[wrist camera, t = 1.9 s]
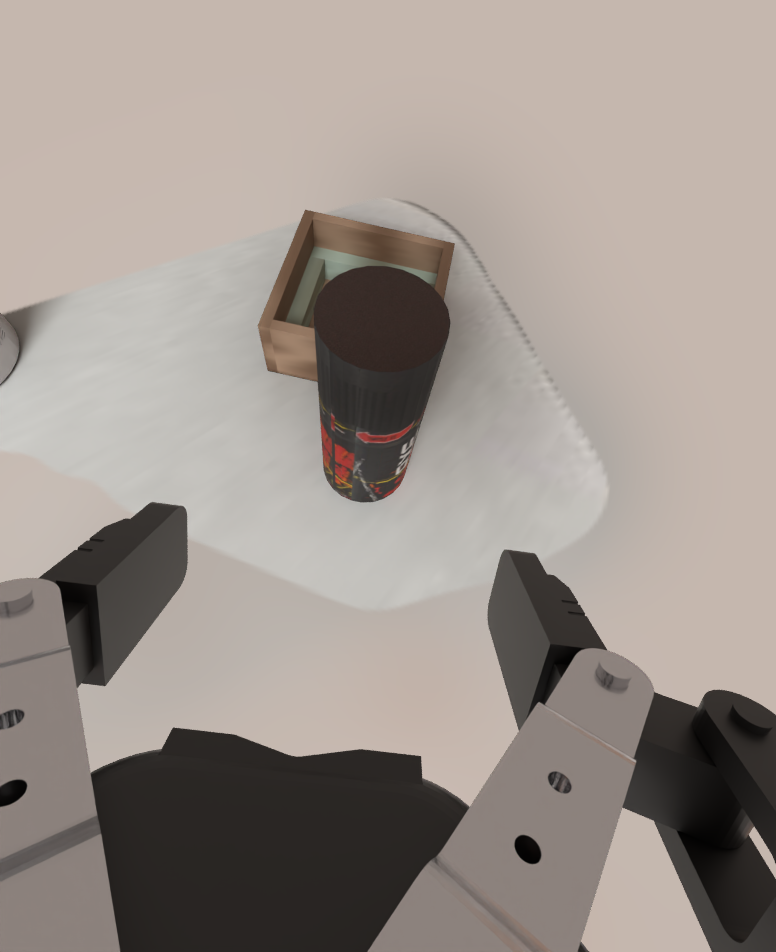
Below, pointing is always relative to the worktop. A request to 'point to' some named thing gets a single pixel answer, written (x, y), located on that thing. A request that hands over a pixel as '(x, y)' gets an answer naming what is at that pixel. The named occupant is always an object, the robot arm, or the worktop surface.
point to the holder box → (319, 261)
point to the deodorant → (375, 374)
